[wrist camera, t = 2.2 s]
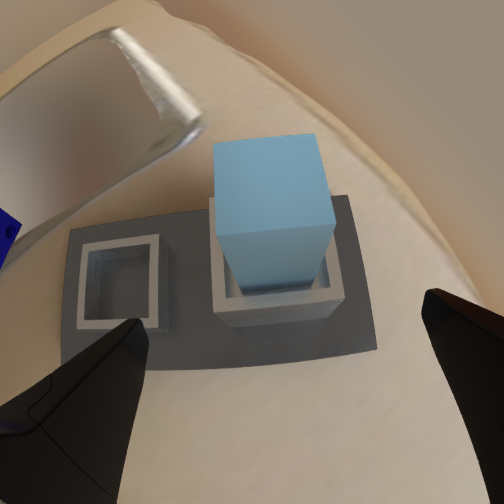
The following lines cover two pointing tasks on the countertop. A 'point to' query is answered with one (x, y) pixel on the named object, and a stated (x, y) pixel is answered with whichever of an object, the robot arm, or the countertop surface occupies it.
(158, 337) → the grey peg holder base
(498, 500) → the robot arm
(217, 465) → the countertop surface
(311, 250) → the plug
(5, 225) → the cable clip
